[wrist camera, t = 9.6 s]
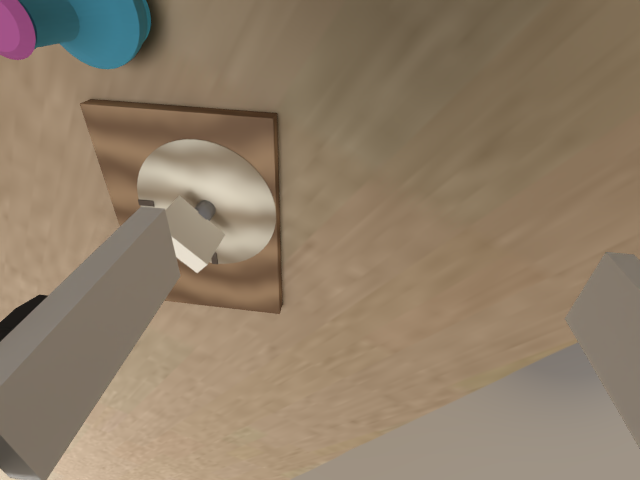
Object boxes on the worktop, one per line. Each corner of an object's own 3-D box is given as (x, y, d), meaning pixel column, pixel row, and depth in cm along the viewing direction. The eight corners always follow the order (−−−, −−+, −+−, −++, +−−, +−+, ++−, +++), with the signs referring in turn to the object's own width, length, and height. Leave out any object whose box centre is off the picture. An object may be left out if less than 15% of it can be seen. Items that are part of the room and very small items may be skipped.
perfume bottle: (180, 8, 36) (82, 20, 24) (138, 79, 41) (38, 120, 28) (94, -74, 33) (-68, -108, 21) (59, 12, 38) (-90, 26, 25)
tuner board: (90, 99, 43) (77, 104, 41) (277, 113, 41) (272, 119, 39) (149, 289, 60) (142, 299, 58) (282, 304, 58) (279, 315, 56)
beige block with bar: (146, 228, 50) (107, 269, 43) (189, 183, 45) (155, 221, 38) (187, 261, 52) (157, 304, 45) (233, 221, 47) (208, 263, 40)
